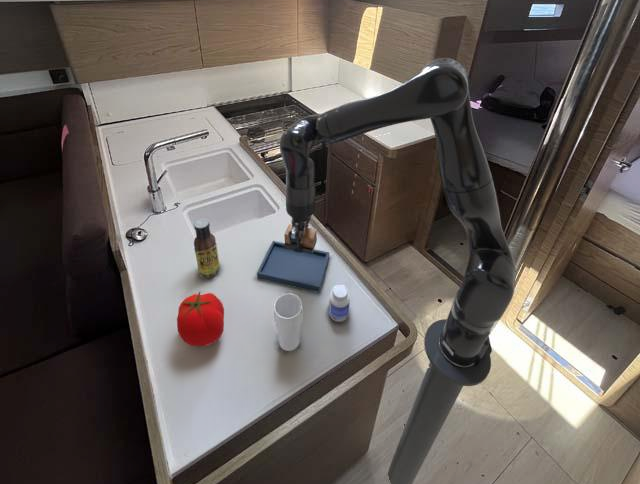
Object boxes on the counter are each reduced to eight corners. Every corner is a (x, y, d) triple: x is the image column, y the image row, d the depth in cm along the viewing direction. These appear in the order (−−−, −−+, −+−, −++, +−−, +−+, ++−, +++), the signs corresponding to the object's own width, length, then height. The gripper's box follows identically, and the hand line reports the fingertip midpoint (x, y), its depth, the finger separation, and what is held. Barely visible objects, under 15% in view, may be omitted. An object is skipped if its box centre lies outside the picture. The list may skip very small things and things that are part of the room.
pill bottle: (351, 318, 88) (354, 296, 83) (333, 325, 87) (335, 302, 82) (343, 301, 93) (345, 279, 88) (325, 307, 91) (327, 285, 86)
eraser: (316, 240, 92) (317, 227, 89) (312, 254, 88) (312, 240, 85) (289, 235, 93) (289, 222, 91) (284, 248, 89) (283, 235, 86)
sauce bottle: (202, 282, 97) (190, 234, 87) (197, 268, 101) (185, 220, 91) (223, 273, 100) (214, 226, 90) (217, 260, 104) (208, 213, 94)
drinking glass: (273, 333, 84) (270, 297, 77) (298, 325, 86) (297, 289, 79) (279, 359, 79) (277, 323, 71) (306, 349, 81) (306, 313, 73)
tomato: (207, 366, 77) (198, 335, 70) (170, 342, 82) (158, 310, 75) (239, 324, 86) (233, 293, 79) (204, 305, 91) (196, 274, 84)
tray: (329, 257, 106) (329, 252, 105) (319, 292, 95) (319, 287, 94) (273, 245, 110) (272, 240, 109) (257, 278, 99) (256, 272, 98)
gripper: (307, 217, 75) (307, 266, 84) (321, 182, 87) (319, 228, 96) (276, 211, 76) (279, 260, 85) (294, 177, 88) (295, 224, 97)
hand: (300, 243), depth 90 cm, fingers closed on eraser, 5 cm apart
